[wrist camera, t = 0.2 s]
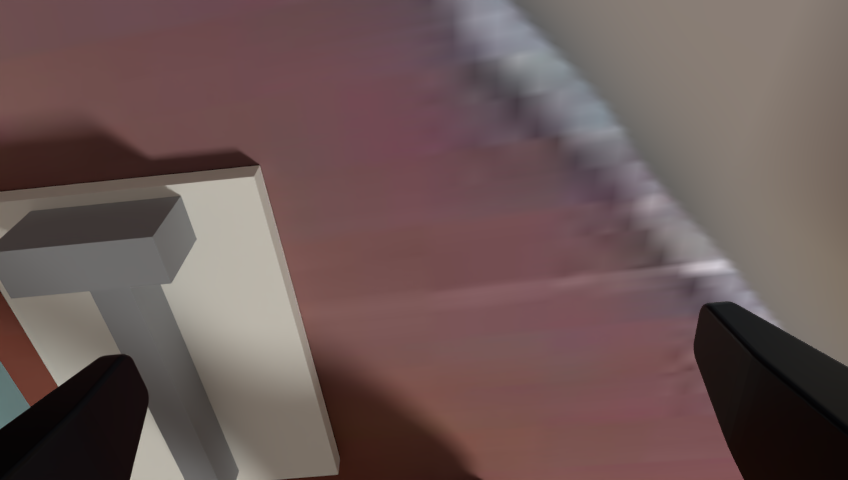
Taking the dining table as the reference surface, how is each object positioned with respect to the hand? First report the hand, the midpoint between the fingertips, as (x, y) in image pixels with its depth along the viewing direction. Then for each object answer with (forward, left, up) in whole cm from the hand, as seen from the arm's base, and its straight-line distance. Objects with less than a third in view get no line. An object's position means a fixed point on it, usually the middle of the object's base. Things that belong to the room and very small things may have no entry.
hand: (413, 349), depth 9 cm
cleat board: (-12, +12, -15) cm, 22 cm away
